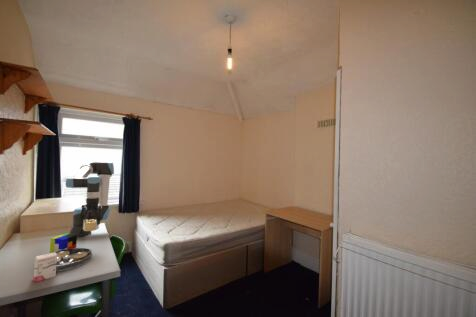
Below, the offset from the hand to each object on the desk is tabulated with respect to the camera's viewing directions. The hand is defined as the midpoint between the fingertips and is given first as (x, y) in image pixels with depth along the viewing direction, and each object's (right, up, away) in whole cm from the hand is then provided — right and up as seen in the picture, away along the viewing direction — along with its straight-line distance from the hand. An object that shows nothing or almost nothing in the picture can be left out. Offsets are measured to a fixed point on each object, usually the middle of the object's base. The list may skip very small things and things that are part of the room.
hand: (90, 228), depth 149 cm
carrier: (-1, -14, -20) cm, 24 cm away
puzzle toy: (-16, -14, -4) cm, 22 cm away
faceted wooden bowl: (0, 0, 0) cm, 0 cm away
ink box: (+2, -14, -38) cm, 40 cm away
